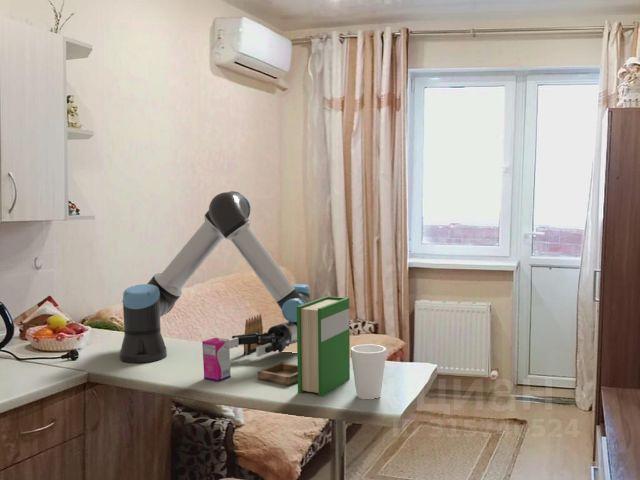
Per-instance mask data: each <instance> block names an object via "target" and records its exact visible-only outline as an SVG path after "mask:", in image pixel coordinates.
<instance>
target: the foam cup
mask: <svg viewBox="0 0 640 480" xmlns="http://www.w3.org/2000/svg"><path fill="white" fill-rule="evenodd" d="M386 358H387V348H386V347H385V346H383V345H381V344H380V345H378V344H373V343H371V344H370V343H368V344H367V343H364V344H356V345H354V346H351V347H350V359H351V363H352V370H353V378H354V385H355V386H354V387H355V393H356V397H357V396H358V397H359V398H358V397H357V398H358V399H360V398H361V400H365V399H373V398H377V397H379V396H380V397H381V395H382V387H383V382H384V374H385V373H384V371H385V365H386Z"/></svg>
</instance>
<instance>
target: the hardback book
mask: <svg viewBox="0 0 640 480" xmlns="http://www.w3.org/2000/svg"><path fill="white" fill-rule="evenodd" d="M350 335H351V334H350V297H344V296H343V297H341V296H330V295H329V296H328V295H327V296H323V297H320V298H317V299H315V300H312V301H311V300H310V302H308V303H306V304H303V305H300V306H297V342H296V343H297V344H296V345H297V346H296V348H297V351H296V352H297V355H296V356H297V358H296V359H297V364H296V365H298V382H297V393H298V394H302V393H304V392H309V393H316V394H318V397H320V398H321V397H324V396H326V395H327V394H329V393H330V392H332V391H333V390H335V389H336V387H337V388H338V387H340V386H342V385H343V384H344V383H346V382H348V381H349V380H350V378H351V371H350V370H351V367H350V365H351V361H350V360H351V347H350V340H351V339H350ZM347 380H348V381H347Z"/></svg>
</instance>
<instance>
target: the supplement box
mask: <svg viewBox="0 0 640 480" xmlns="http://www.w3.org/2000/svg"><path fill="white" fill-rule="evenodd" d="M229 340H230V339H228V338H222V337H213V338H210V339H206V340H202V342H201V343H202V361H203V362H202V363H203V364H202V365H203V379H205V380H209V381H213V382H217V383H218V382H221V381H223V380H227V379H229V378H231V377H232V374H231V357H230V355H231V353H230V349H229Z"/></svg>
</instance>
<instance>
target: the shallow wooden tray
mask: <svg viewBox="0 0 640 480" xmlns="http://www.w3.org/2000/svg"><path fill="white" fill-rule="evenodd" d="M257 380H259V381H264V382H266V383H267V382H268V383H273V384H277V385H282V386H287V387H290V386H293V385H295V384H298V365H297V364H293V363H290V362H289V363H288V362H283V361H281V362H278V363H276V364H274V365H271V366H268V367H265V368H262V369H261V370H260V369H259V370H258V371H257Z"/></svg>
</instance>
